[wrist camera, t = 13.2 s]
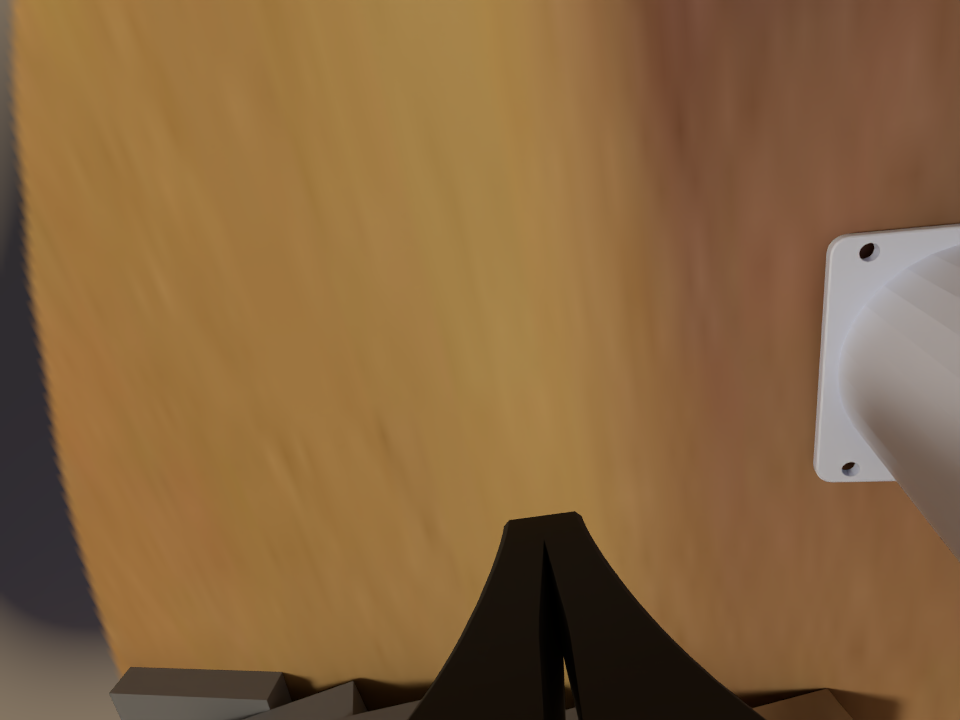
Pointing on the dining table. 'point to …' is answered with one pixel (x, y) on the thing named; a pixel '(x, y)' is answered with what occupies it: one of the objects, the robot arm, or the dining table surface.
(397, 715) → the tile
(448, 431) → the dining table surface
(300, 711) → the tile
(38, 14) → the dining table surface
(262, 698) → the tile
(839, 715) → the tile
